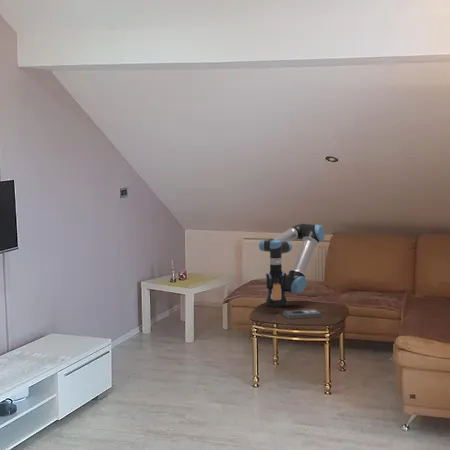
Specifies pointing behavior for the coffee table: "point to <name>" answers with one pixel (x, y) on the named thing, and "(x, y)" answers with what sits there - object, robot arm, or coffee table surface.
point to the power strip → (301, 314)
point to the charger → (276, 291)
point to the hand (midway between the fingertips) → (276, 298)
